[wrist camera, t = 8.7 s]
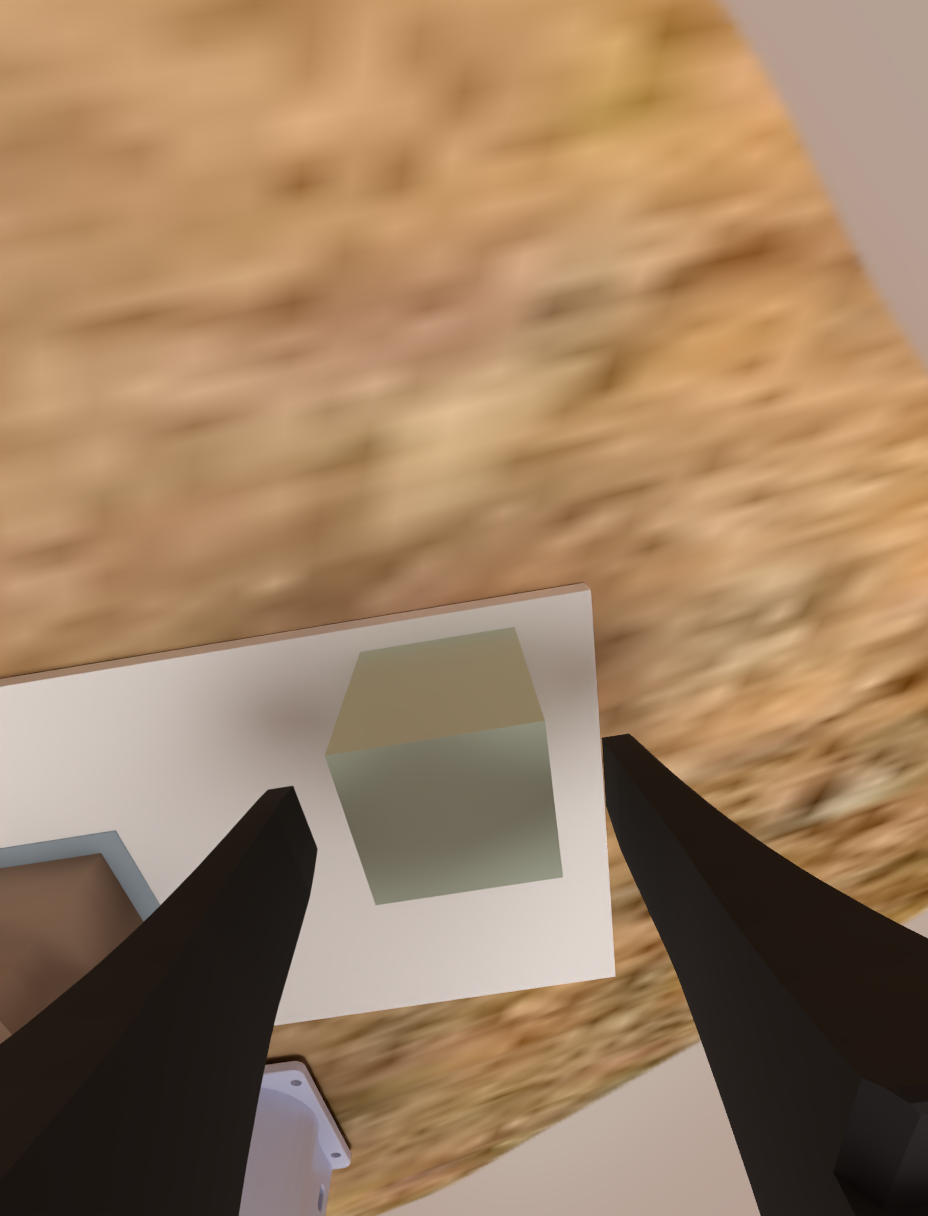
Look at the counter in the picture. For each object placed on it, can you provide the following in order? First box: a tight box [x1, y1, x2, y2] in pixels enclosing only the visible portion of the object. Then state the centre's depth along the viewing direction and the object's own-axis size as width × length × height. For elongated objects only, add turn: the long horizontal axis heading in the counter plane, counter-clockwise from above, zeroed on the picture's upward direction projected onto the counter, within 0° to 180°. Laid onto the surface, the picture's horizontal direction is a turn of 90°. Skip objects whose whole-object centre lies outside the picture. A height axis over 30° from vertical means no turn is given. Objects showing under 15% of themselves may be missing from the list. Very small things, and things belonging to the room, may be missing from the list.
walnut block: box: [0, 853, 143, 1044], centre depth 15 cm, size 4×4×4 cm
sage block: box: [325, 627, 563, 905], centre depth 13 cm, size 4×4×4 cm
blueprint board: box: [0, 583, 615, 1026], centre depth 17 cm, size 18×24×1 cm
